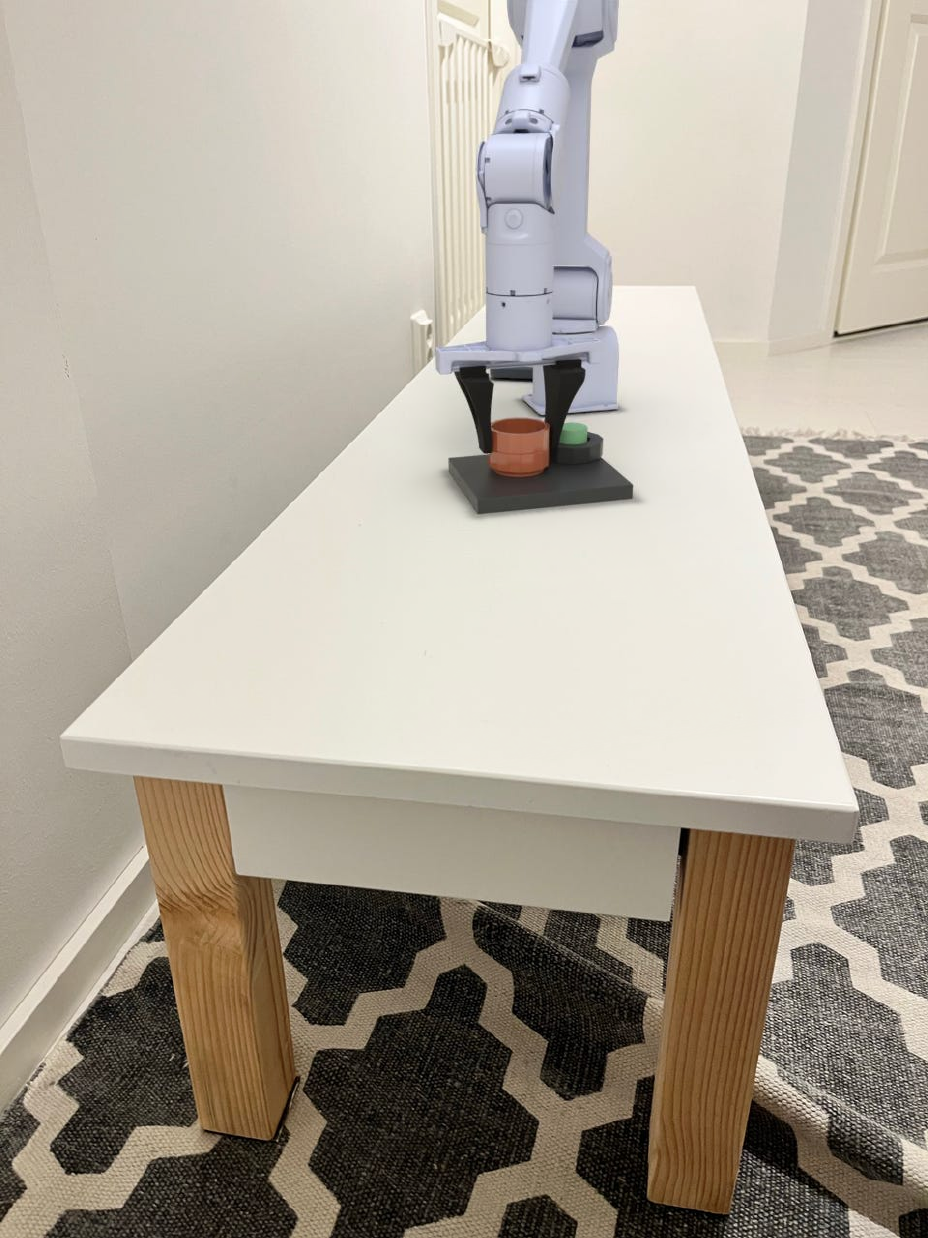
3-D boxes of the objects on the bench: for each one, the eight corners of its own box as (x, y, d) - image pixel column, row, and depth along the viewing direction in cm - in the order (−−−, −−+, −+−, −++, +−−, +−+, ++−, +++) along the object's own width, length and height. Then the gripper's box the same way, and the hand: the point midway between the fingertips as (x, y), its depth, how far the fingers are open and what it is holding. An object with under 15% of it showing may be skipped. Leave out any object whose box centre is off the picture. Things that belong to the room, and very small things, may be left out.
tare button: (581, 437, 93) (581, 421, 93) (591, 445, 91) (591, 429, 90) (553, 439, 93) (553, 423, 92) (562, 447, 90) (562, 431, 90)
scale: (589, 457, 96) (590, 428, 95) (636, 499, 85) (638, 466, 84) (447, 470, 93) (446, 440, 92) (477, 515, 83) (477, 481, 81)
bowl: (538, 456, 92) (539, 415, 90) (556, 475, 87) (558, 431, 85) (481, 461, 91) (481, 420, 89) (496, 480, 86) (496, 436, 84)
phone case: (509, 356, 140) (487, 379, 126) (509, 344, 139) (487, 367, 125) (571, 358, 138) (555, 382, 124) (571, 346, 137) (556, 369, 123)
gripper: (445, 303, 77) (449, 467, 83) (617, 293, 80) (609, 453, 86) (428, 290, 83) (433, 444, 89) (588, 281, 86) (583, 431, 92)
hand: (518, 447), depth 88 cm, fingers closed on bowl, 6 cm apart
